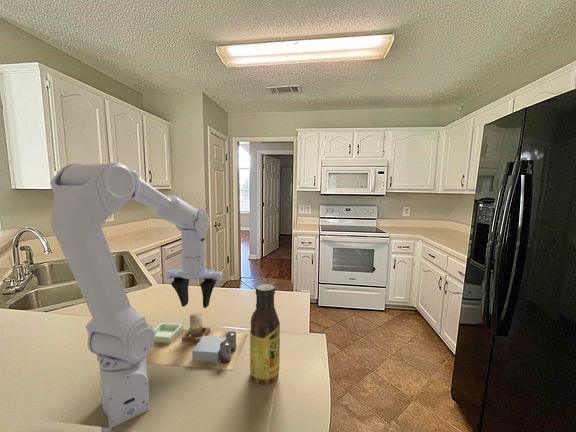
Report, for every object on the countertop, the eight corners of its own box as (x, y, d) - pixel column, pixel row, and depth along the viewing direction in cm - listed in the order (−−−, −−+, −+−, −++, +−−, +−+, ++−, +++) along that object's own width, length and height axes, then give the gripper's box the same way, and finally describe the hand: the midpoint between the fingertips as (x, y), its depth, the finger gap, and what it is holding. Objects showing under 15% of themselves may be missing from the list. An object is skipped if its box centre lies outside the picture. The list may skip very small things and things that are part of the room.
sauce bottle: (275, 391, 50) (275, 295, 48) (245, 385, 52) (244, 292, 50) (282, 368, 57) (283, 283, 55) (256, 364, 58) (255, 280, 56)
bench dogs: (237, 346, 63) (237, 331, 63) (229, 364, 57) (228, 347, 56) (228, 346, 63) (227, 331, 63) (218, 363, 57) (218, 346, 57)
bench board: (248, 336, 69) (248, 329, 69) (232, 373, 55) (232, 365, 55) (162, 330, 71) (161, 324, 71) (125, 364, 57) (125, 356, 57)
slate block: (226, 346, 63) (226, 337, 63) (217, 362, 57) (217, 352, 57) (203, 345, 64) (203, 335, 63) (192, 361, 58) (192, 350, 57)
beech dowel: (204, 336, 67) (203, 315, 67) (192, 341, 65) (192, 319, 65) (200, 331, 69) (199, 311, 69) (189, 335, 68) (188, 314, 67)
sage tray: (183, 330, 70) (183, 324, 70) (170, 344, 64) (170, 337, 64) (161, 328, 71) (161, 322, 71) (146, 342, 65) (146, 335, 64)
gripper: (226, 252, 68) (227, 300, 70) (175, 250, 70) (177, 297, 71) (216, 259, 61) (217, 312, 63) (160, 257, 63) (162, 309, 64)
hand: (195, 305), depth 66 cm, fingers open, 5 cm apart
